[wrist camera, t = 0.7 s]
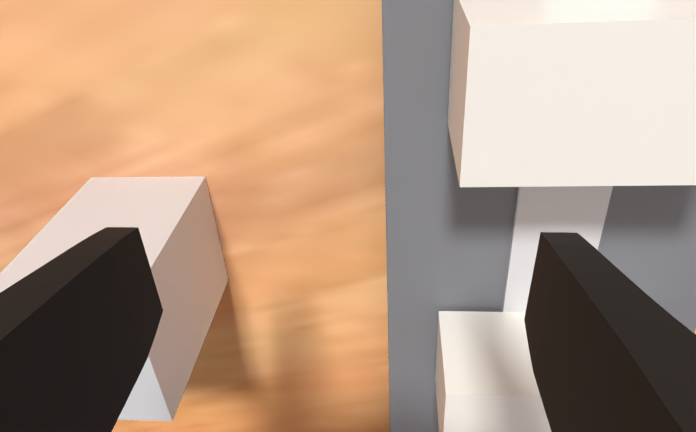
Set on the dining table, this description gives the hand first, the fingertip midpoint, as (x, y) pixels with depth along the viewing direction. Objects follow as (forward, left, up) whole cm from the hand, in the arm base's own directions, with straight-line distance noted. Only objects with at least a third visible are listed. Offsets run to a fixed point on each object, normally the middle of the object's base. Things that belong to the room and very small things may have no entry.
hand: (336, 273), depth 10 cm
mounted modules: (-5, -7, -9) cm, 12 cm away
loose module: (-6, +8, -10) cm, 14 cm away
